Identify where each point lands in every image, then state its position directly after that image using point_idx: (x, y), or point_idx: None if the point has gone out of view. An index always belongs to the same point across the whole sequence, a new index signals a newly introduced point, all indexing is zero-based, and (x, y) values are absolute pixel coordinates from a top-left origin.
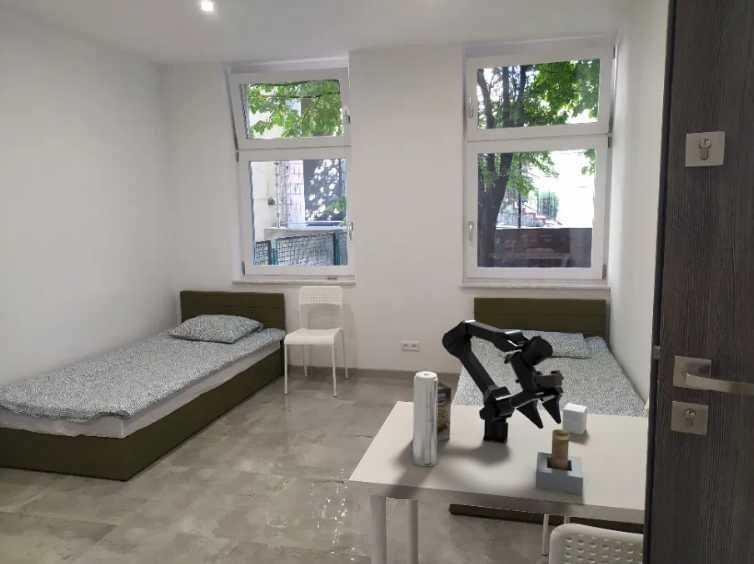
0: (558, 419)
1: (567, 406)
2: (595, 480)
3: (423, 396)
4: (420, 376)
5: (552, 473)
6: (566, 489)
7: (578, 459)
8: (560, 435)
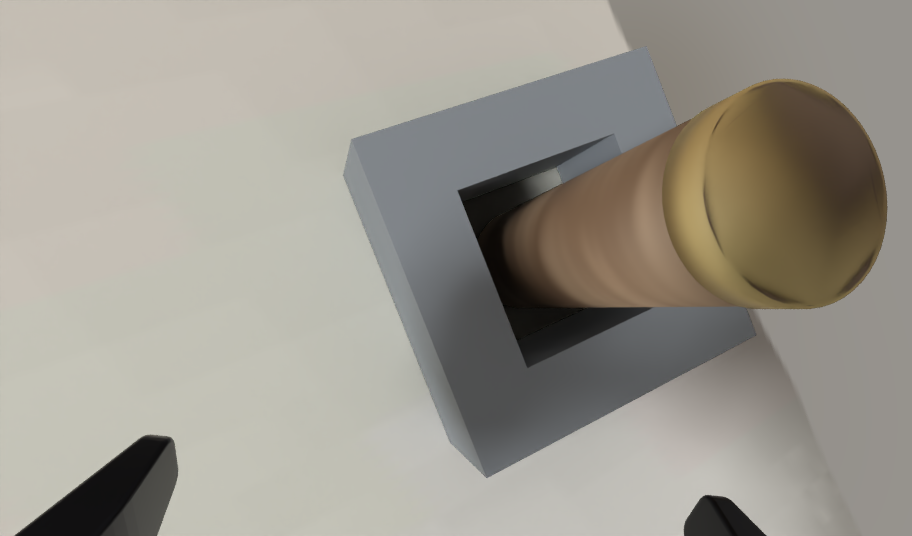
0: (140, 504)
1: None
2: (370, 68)
3: None
4: None
5: None
6: None
7: (404, 146)
8: (864, 169)
